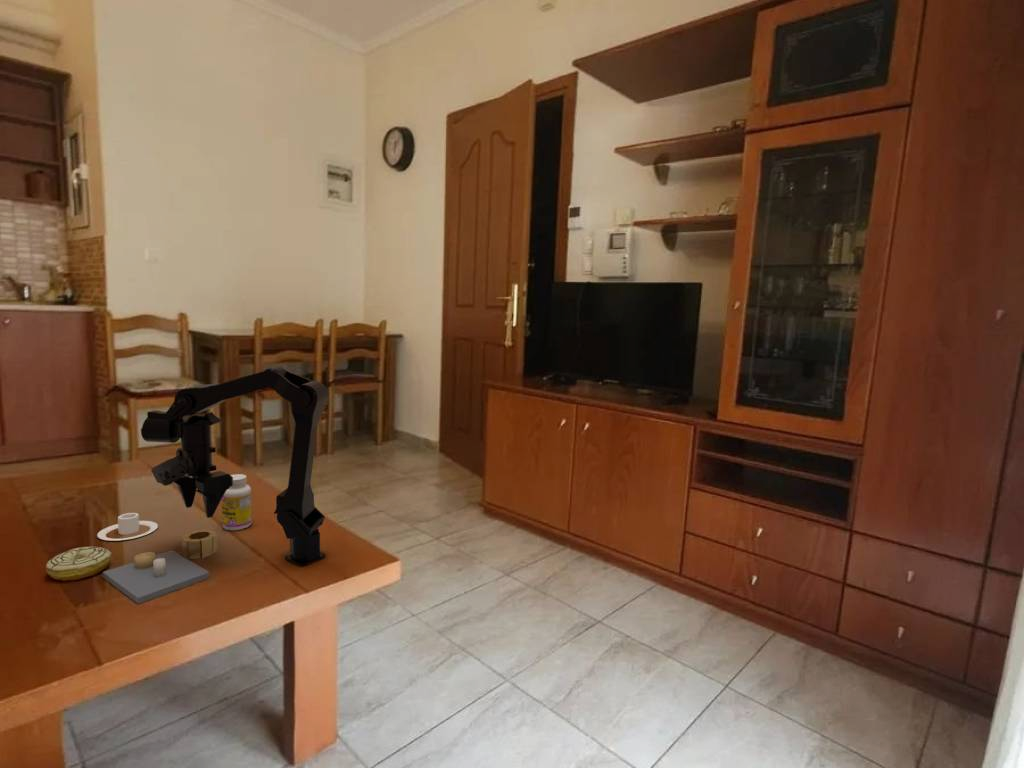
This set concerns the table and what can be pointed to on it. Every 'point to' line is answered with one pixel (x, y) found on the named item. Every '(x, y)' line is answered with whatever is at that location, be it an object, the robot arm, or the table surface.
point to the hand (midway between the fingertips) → (199, 512)
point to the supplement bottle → (237, 504)
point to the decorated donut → (78, 563)
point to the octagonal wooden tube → (199, 544)
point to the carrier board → (152, 584)
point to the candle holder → (127, 527)
